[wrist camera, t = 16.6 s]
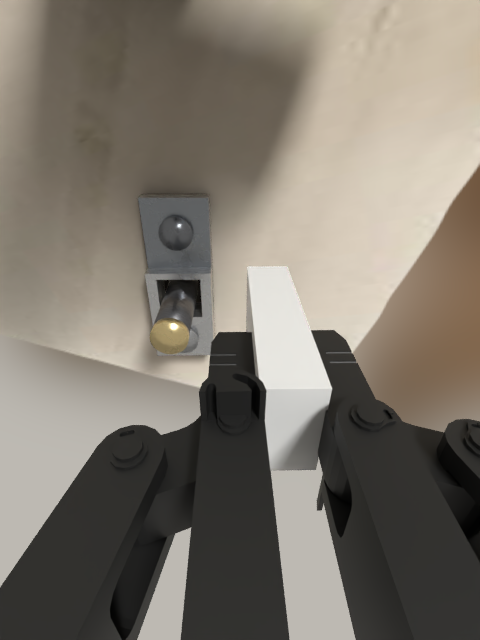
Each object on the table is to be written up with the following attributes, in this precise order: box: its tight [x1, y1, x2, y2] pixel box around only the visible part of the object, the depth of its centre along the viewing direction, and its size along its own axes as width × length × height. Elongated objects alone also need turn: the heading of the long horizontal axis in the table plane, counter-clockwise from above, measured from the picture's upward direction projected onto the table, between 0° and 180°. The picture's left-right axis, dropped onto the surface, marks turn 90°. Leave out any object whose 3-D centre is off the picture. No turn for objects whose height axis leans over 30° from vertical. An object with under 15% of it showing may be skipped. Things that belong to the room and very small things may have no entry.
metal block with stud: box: [138, 194, 215, 356], centre depth 43 cm, size 21×8×5 cm, turn 0°
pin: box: [150, 280, 199, 354], centre depth 41 cm, size 4×4×13 cm
